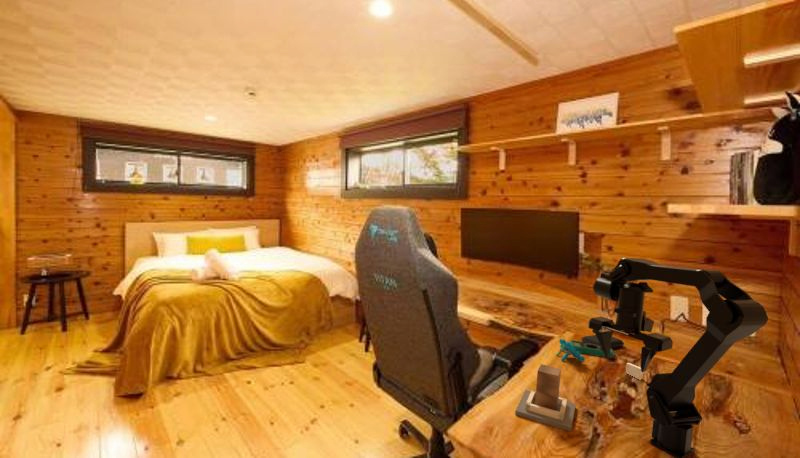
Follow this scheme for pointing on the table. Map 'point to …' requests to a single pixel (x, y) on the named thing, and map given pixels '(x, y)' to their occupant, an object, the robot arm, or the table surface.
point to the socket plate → (546, 411)
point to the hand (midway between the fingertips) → (624, 364)
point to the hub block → (547, 387)
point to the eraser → (634, 371)
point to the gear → (569, 351)
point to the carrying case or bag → (594, 340)
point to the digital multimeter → (589, 348)
